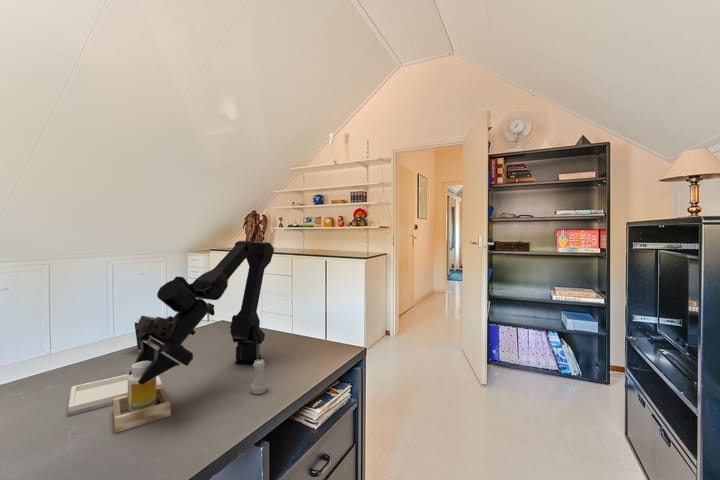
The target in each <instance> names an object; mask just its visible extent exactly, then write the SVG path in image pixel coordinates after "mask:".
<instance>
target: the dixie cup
mask: <svg viewBox="0 0 720 480" xmlns="http://www.w3.org/2000/svg"><path fill="white" fill-rule="evenodd" d="M147 317H152V318H157V317H160V316H159V315H149V316H147ZM140 318H141V316H140V317H138V318H135V319H133V321H132V322H133V323H134V330H135V339H136V347H137V350H138V352H139V353H140V351H141V346H140V342H139V341H140V340H141V341H143V339H141V338H140V337H138V336H137V334H138V333H139V332H140V330H138V329H135V328H136V326H137V324H138V322H139V320H140Z"/></svg>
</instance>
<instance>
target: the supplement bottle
mask: <svg viewBox="0 0 720 480" xmlns="http://www.w3.org/2000/svg"><path fill="white" fill-rule="evenodd" d="M134 363H135V362H134ZM134 363H133V364H132V365H131V368H130V371H131V372H132V373H133V374H131V375H130V376H129V377H128V409H127V410H128V411H129V412H133V411H137V410H140V409H144V408H147V407H151V406H154V405H156V402H157V401H156V377H154V378H153V379H151V380H149V381H148V382H146V383H144V384H142V385H141V384H139V383H138V381H139V379H140V378H141V376H142V375H143V373H144V372H145V371H146V369H147V368H148V367H149V365H150V364H151V361H141V362H138V363H135V364H134Z"/></svg>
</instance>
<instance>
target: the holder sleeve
mask: <svg viewBox="0 0 720 480" xmlns="http://www.w3.org/2000/svg"><path fill="white" fill-rule="evenodd" d="M156 402H159V404H154V405H153V406H151V407H147V408H144V409H140V410H137V411H129V412H126V413H123V414H121V412H123V411H126V410H128V395H125V396H121V397H117V398H114V399H113V405H112V409H113V410H112V411H113V412H112V413H113V414H112V415H113V425H114V426H113V427H114V434H116V433H117V434H118V433H120V432H123V431H126V430H130V429H133V428H136V427H139V426H142V425H146V424H150V423H151V422H152V423H153V422H155V421H159V420H162V419H166V418H168V417H171V411H172V410H171V401H170V398H169V396H168V394H167V390H166V388H165V386H164V385H162V386H161V387H157V388H156Z"/></svg>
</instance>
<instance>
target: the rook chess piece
mask: <svg viewBox="0 0 720 480" xmlns="http://www.w3.org/2000/svg"><path fill="white" fill-rule="evenodd" d="M265 366H266V362H265V359H262V358H260V359H258V360H257V361H256V360H255V361H254V364H252V367H253V368H254V370H253V372H254V374H253V380H252V381H251V383H250V389H249V391H250V393H251V394H253V395H262V394H264V393H265V392H266V391H267V390H268V382H267V380H266V379H265Z"/></svg>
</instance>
